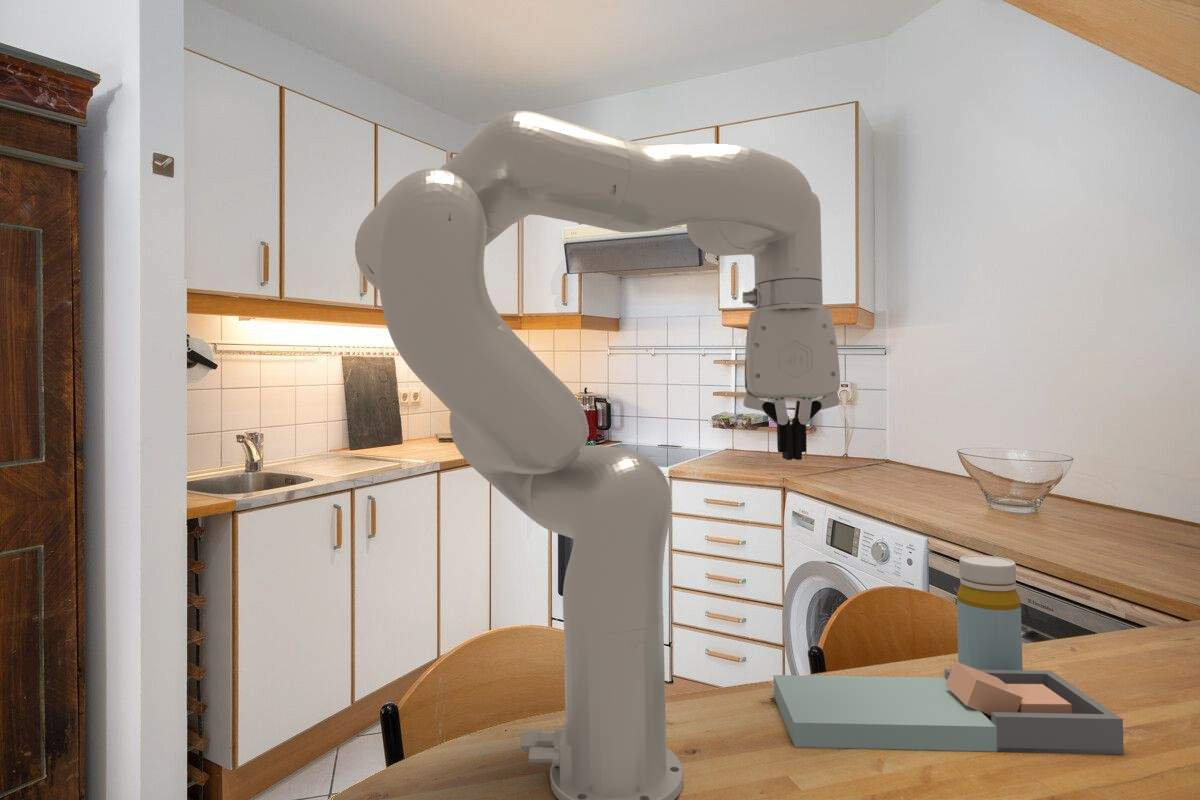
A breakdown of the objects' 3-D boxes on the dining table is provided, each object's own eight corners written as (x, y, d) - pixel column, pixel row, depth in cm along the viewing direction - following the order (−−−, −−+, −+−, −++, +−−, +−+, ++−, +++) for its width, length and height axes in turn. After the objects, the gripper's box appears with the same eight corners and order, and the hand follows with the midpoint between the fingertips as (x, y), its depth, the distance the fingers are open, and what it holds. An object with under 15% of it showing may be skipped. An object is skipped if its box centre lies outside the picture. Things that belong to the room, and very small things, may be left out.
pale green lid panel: (794, 746, 68) (793, 722, 68) (773, 695, 80) (773, 675, 80) (997, 751, 66) (996, 726, 66) (945, 698, 78) (944, 677, 78)
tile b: (1022, 732, 69) (1021, 703, 69) (997, 710, 74) (996, 683, 74) (1072, 733, 69) (1071, 704, 69) (1043, 710, 74) (1042, 684, 74)
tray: (997, 751, 66) (996, 716, 66) (945, 698, 78) (944, 669, 78) (1123, 754, 65) (1122, 719, 65) (1051, 700, 77) (1050, 670, 77)
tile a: (966, 705, 70) (976, 679, 70) (945, 685, 75) (954, 661, 75) (1012, 723, 70) (1022, 697, 70) (987, 702, 75) (997, 677, 75)
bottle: (1004, 668, 87) (1002, 554, 87) (1034, 691, 80) (1031, 567, 80) (949, 667, 88) (946, 554, 88) (973, 690, 81) (970, 567, 81)
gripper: (726, 297, 73) (730, 462, 73) (865, 292, 72) (869, 461, 72) (720, 307, 81) (723, 457, 81) (845, 303, 79) (849, 455, 79)
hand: (792, 458), depth 76 cm, fingers closed
